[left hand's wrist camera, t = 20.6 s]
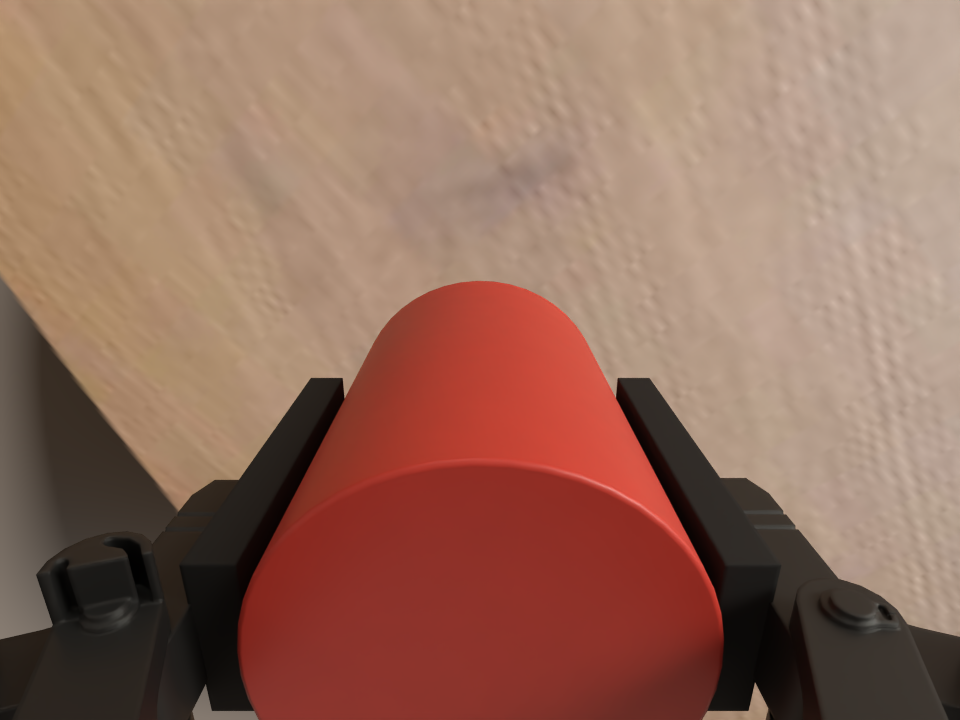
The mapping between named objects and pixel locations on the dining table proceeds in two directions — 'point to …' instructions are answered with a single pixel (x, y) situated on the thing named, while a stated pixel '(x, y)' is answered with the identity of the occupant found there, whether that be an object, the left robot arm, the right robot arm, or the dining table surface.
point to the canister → (480, 540)
